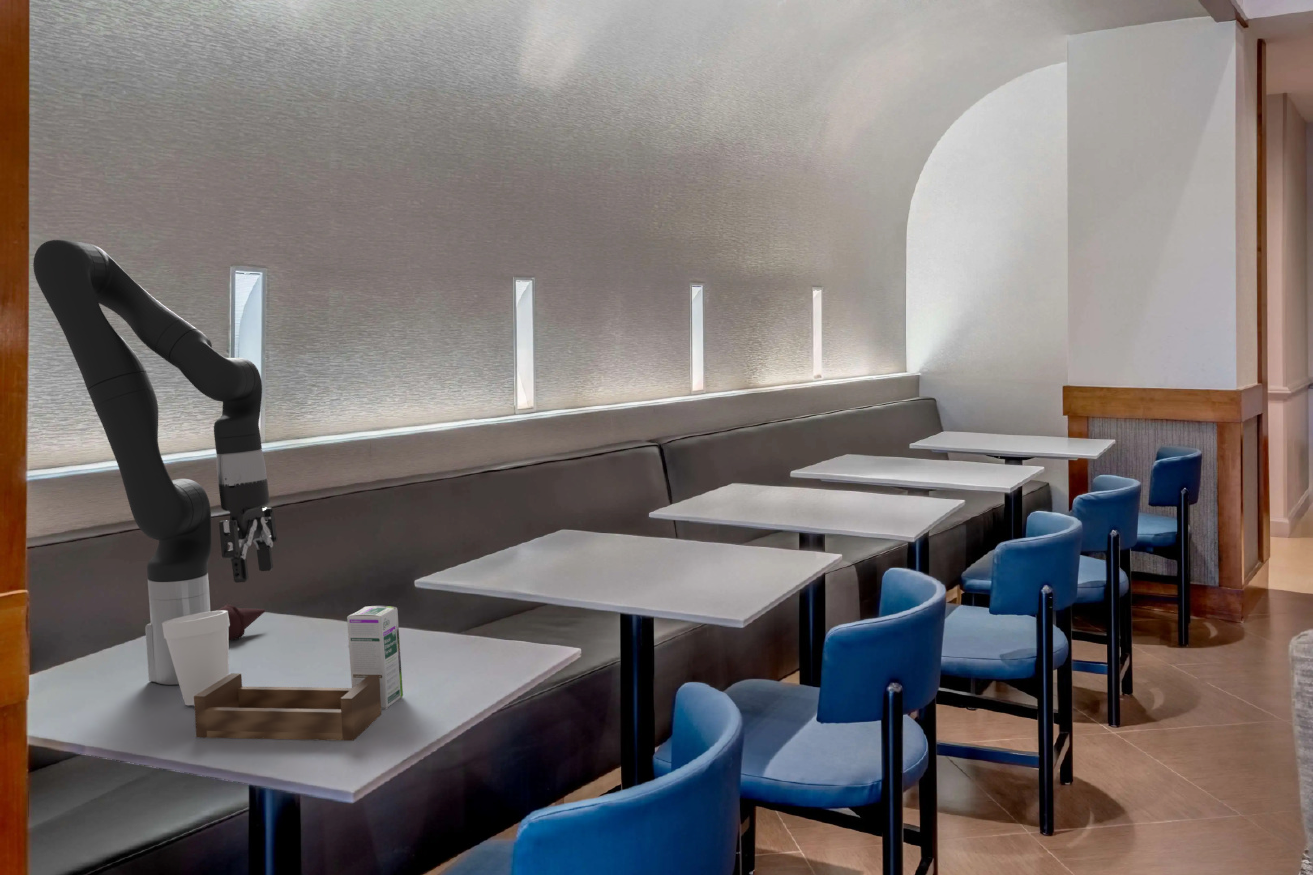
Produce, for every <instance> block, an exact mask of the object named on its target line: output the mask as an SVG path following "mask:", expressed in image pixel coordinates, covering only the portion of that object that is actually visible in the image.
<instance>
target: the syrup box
mask: <svg viewBox="0 0 1313 875" xmlns="http://www.w3.org/2000/svg"><path fill="white" fill-rule="evenodd" d="M398 612H399V611H398V607H396V606H391V605H390V606H388V605H371V606H364V607H362V608H361V609H359V610H358V611H356V612H354V613H351V614H349V615H348V616H346V620H347V634H348V635H347V636H348V651H349V664H350V665H349V666H350V677H351V678H350V679H351V688H354V687H355V686H356V685H357V684H359V683H360V682H361V681H362V680H364V679H365V678H366V677H367V676H368V675H379V677H380V698H381V710H383V709H385V710H387V709H389V707H390V706H391V705H393V704H394V703H395V702H398V700H400V699H401V698H403V696H404V691H403V689H404V688H403V675H402V661H401V647H400V646H401V645H400V642H401V641H400V629H399V614H398Z"/></svg>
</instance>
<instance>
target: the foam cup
mask: <svg viewBox="0 0 1313 875" xmlns="http://www.w3.org/2000/svg"><path fill="white" fill-rule="evenodd" d="M162 626H163V633H164V638H165V639H166V641H167V644H168V648H169V651H170V655H171V658H172V661H173V665H174V668H175V672H176V675H177V679H178V682H179V684H178V685H179V688H180V691H181V692H180V693H181V696H182V699H183V701H184V705H186V706H194V696H195V695H197V694H198V693H200V692H202V691H203V690H205V689H206V688H208V687H210V686H211V685H213V684H215V683H216V682H218V681H220V680H221V679H223V678H225V677H226V676H228V675H229V674H230V668H229V667H230V663H229V662H230V661H229V660H230V656H229V655H230V653H229V652H230V650H229V649H230V648H229V643H230V642H229V641H230V640H229V626H230V623H229V616H228V611H225V610H221V611H216V610H212V611H211V610H210V612H204V613H198V614H192V615H187V616H183V617H178V618H174V619H171V620H167V621H165V622H163V623H162Z"/></svg>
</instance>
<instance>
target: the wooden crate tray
mask: <svg viewBox="0 0 1313 875" xmlns="http://www.w3.org/2000/svg"><path fill="white" fill-rule="evenodd" d="M242 679H243V678H242V673H240V672H239V673H238V672H237V673H234V672H233V673H229V675H228V676H226V677H225V678H223V679H221V680H220V681H218V682H216V683H215V684H213V685H211V686H210V687H208V688H206V689H205V690H203V691H202V692H200V693H198V694H197V695H195V696H194V705H193V707H194V719H195V735H196V736H195V738H196V737H202V738H206V737H207V738H206V739H211V738H212V739H248V740H250V739H253V740H255V739H257V740H258V739H260V740H298V741H299V740H301V741H302V740H304V741H305V740H307V741H309V740H311V741H350V742H351V741H355V740H356V739H357V738H358V737H359V736H360V735H361V734H362V733H364V732H365V731H366V730H367V729H368V728H369V726H371V725H372V724H373V723H374V722H375V721H376V720H377V719H378V718H379V717H380V716H381V715H382V709H381V698H380V677H379V675H368V676H367V677H366V678H365V679H364V680H362V681H361V682H360V683H359V684H357V685H356V686H355V687H354V688H352V687H319V686H318V687H315V686H314V687H312V686H311V687H310V686H309V687H308V686H307V687H304V686H303V687H302V686H299V687H298V686H243V680H242ZM208 737H209V738H208Z"/></svg>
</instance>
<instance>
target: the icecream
mask: <svg viewBox="0 0 1313 875" xmlns="http://www.w3.org/2000/svg"><path fill="white" fill-rule="evenodd" d="M221 610H225V611H228V616H229V623H230V626H229V641H234V640H237V639H238V640H239V639H240V638H242V637H243V636H244V635H245V631H246V629H247V628H248V627H249V626H250V625H251V624H252V623H254V622H255V621H256V620H257V619H258V618H260V617H261V616H262V615H263V614H264V613H265V612H266V609H264V608H246V607H245V608H242V607H236V606H235V605H232V604H229V603H227V604H225V605H224V606H222V607H220V608H219V609H217V610H215V611H221Z"/></svg>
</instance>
